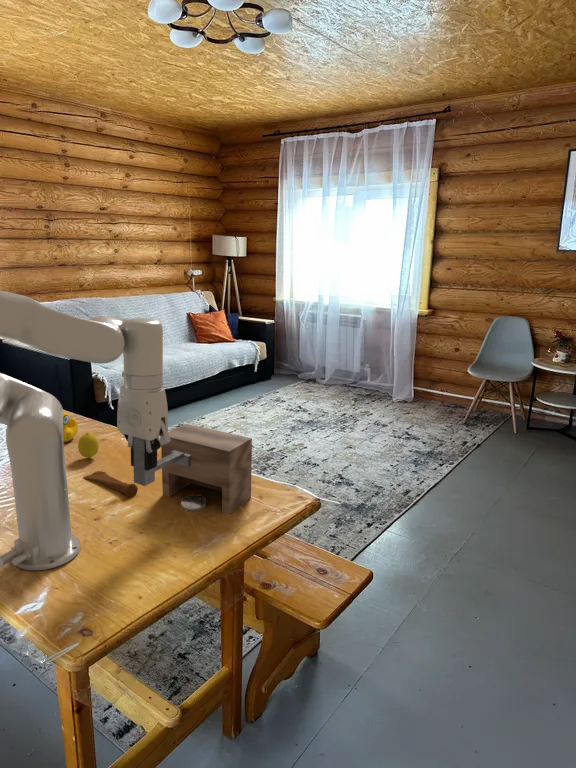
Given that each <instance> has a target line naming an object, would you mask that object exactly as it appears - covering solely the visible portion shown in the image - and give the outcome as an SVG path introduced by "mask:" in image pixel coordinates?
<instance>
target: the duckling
mask: <svg viewBox="0 0 576 768" xmlns="http://www.w3.org/2000/svg"><path fill="white" fill-rule="evenodd" d="M78 428H79V426H78V421H77V419H76V418H75V417H71V416H70V414H69V413H68V412H65V411H63V443H68V442H69V441H71V440H73V438H75V436H77V434H78V432H79V431H78V430H79V429H78Z"/></svg>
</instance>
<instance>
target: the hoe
mask: <svg viewBox="0 0 576 768" xmlns="http://www.w3.org/2000/svg"><path fill="white" fill-rule="evenodd" d="M153 443H154V440H152V444H153ZM133 451H134V466H133V484H138V485H141V486H143V487H146V486H148V485H150V484H152V483H154V482H155V481H156V480H155V479H156V478H155V477H156V474H155V472H157V471H159V470H162V468H163V467H165V466H167V465H170V464H172V463H176V464H180V465H183V466H187V467H189V466H191V457H192V455H190V454H186V453H183V452H179V451H175V450H173V451H171V454H170V455H168V456H166V457H164V458H162V457H161V458H160V459H157V466H156V467H155V468H153V469H151V470H148V471H146V470H145V469H144V454H145V452H147V449H146V440H144V439H140V438H137V437H133Z"/></svg>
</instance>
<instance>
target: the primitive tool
mask: <svg viewBox="0 0 576 768" xmlns="http://www.w3.org/2000/svg"><path fill="white" fill-rule="evenodd" d="M82 479H84V480H87V481H89V482H93V483H96V484H98V485H102V486H104V487H106V488H109V489H111V490H115V491H118V492H121V493H122V494H124V495H125V497H126V498H133V497H134V496H136V495H137V493H138V490H139V488H138V486H137V485H136V483H131V484H130V483H127V482H123V481H121V480H119V479H117V478H114V477H113V476H110V475H108V474H107V473H106V472H105V471H102V470H97V471H94V472H93V473H90V474H88V475H85V476H83V477H82Z"/></svg>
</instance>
